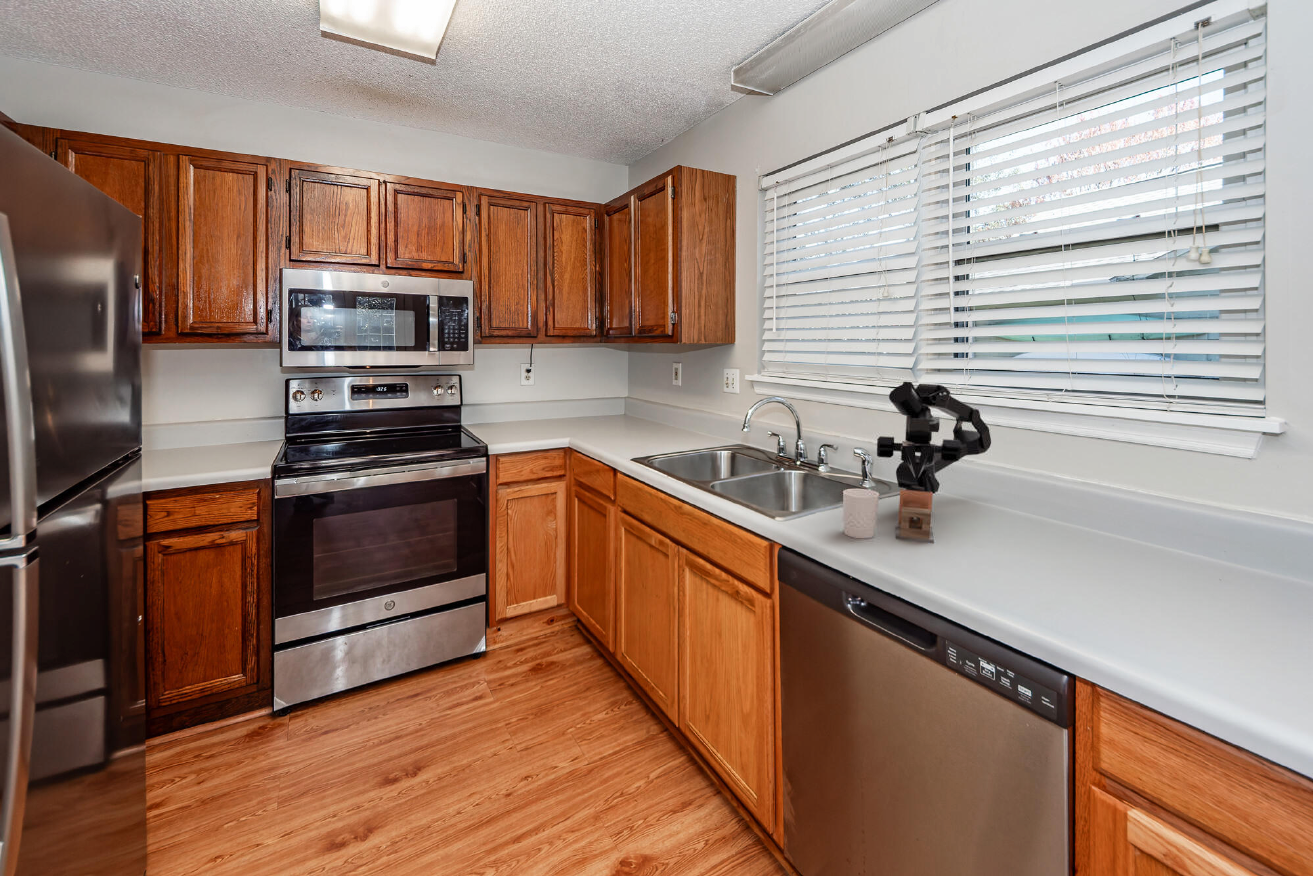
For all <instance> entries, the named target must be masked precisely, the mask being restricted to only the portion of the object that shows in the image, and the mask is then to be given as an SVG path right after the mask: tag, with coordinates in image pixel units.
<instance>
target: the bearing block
mask: <svg viewBox="0 0 1313 876" xmlns="http://www.w3.org/2000/svg"><path fill="white" fill-rule="evenodd" d="M909 516H910V517H920V518H922V525H914V524H909ZM931 520H932V510H930V509H919V508H908V507H902V513H901V525H898V522H896V523H895V539H897V540H898V539H899V540H908V541H916V542H925V543H933V544H934V543H935V536H934V532H933V526H931V525H930V523H932V521H931Z"/></svg>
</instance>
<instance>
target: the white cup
mask: <svg viewBox="0 0 1313 876" xmlns="http://www.w3.org/2000/svg"><path fill="white" fill-rule="evenodd" d="M842 493H843V495H842V497H843V499H842V501H843V502H842V511H843V512H842V513H843V520H842V521H843V533H844V534H845V535H846V536H848V537H850V538H856V539H871V538H873V537H875V533H876V525H877V524H876V523H877V519H878V511H879V509H878V508H879V500H880V493H879V492H877V491H875V490H871V489H866V488H848V489H845V490H843V491H842Z"/></svg>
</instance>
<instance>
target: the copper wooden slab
mask: <svg viewBox="0 0 1313 876" xmlns="http://www.w3.org/2000/svg"><path fill="white" fill-rule="evenodd" d="M933 495H934V494H933V492H926V491H914V490H906V489H902V488H900V490H899V503H898V518H897V519H898V520H897V521H898V522H897V523H898V525H901V513H902V507H908V508H919V509H930V510H931V511H932V509H933V508H932V506H933ZM931 523H932V522H931ZM931 523H930V526H932V525H931ZM909 524H914V525H922V518H920V517H910V516H909Z"/></svg>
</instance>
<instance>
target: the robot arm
mask: <svg viewBox="0 0 1313 876" xmlns="http://www.w3.org/2000/svg"><path fill="white" fill-rule="evenodd" d="M888 398H889V399H888V400H889V401H890V402H891V403H892V405H893V406H894V407H895V408H896V410H897V411H898V412H899V413H900V414H901V415H902V416H906V417H905V418H906V419H905V421H906V422H905V440H902V442H895V436H883V435H882V436H878V437H877V441H876V456H877V457H878V458H885V459H887V458H888V459H889V458H892V457H893V456H894V452H900V460H901V462H900V464H899V465H898V466H897V468H896V470H895V475H896V481H897V487H898V488H900V489H904V490H914V491H926V492H933V495H934V494H936V493H937V492H938V491H939V488H940V485H941V484H940V482H939V481H938V478H937V477H936V474H937V473H938V472H940V471H942V470H944V469H945V468H947V467H949V466H950V465H953V464H954V463H957V462H959V461H960V460H961V459H963V458H964V457H966V456H974V455H975V456H977V455H980V454H985V453H986V452H987V451H988V450H989V449H990V448H991V444H992V438H991V432H990V428H989V427H988V426H987V424H986V423H985V422H984V420H983V419H982V418H981V413H980V410H979V409H977V408H976V407H972V406H970V405H968V404H966V403H965V402H963V401H960V400H959V399H957V398H955V397H953V396H952V395H951V390H949V389H948V388H947V387H946V386H945V385H943V384H932V383H931V384H930V383H919V384H918V385H917V386H916V387H915V386H914V384H913V382H912V381H903V383H902V384H900V385H898V386H896V387H895V388H894V389H893V390H891V391H890V392H889V394H888ZM931 408H932V409H936V410H939V411H941V412H943V413H944V414H946V415H949V416H950V417H953V418H954V419H955V422H956V423H955V425H954V427H953V430H952V432H953V433H952V434H953V439H948V438H947V439H945V438H944V439H942V443H941V444H937V443H936V444H935V443H931V442H932V437H933V435H932V434H933V433H939V432H940V425H941V424H940V423H941V422H940V417H933V415H932V410H931ZM963 423H971V425H972V426H973V428H974V429H975V430H968V429H963V426H962V424H963ZM916 453H919V454H920V455H916Z"/></svg>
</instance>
